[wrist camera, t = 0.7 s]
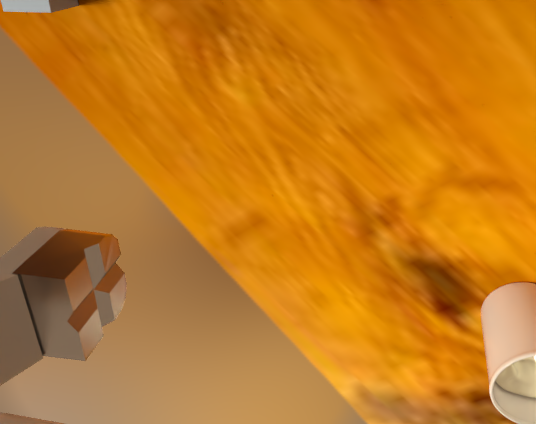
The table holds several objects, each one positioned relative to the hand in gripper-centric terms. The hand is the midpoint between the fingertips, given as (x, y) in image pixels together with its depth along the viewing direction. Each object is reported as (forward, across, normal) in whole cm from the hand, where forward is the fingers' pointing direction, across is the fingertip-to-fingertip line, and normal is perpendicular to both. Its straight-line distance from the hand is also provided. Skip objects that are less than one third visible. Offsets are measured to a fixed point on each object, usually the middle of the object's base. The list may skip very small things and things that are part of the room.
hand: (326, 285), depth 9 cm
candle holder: (+43, -18, +33) cm, 57 cm away
